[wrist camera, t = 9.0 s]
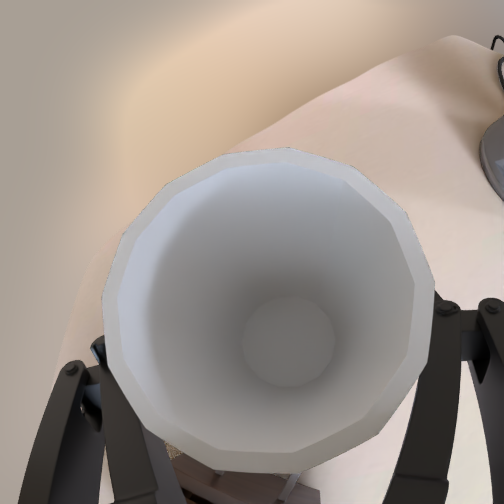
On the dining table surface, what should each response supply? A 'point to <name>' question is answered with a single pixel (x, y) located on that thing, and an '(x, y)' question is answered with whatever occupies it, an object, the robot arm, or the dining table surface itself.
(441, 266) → the dining table surface
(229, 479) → the drawer
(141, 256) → the foam cup
